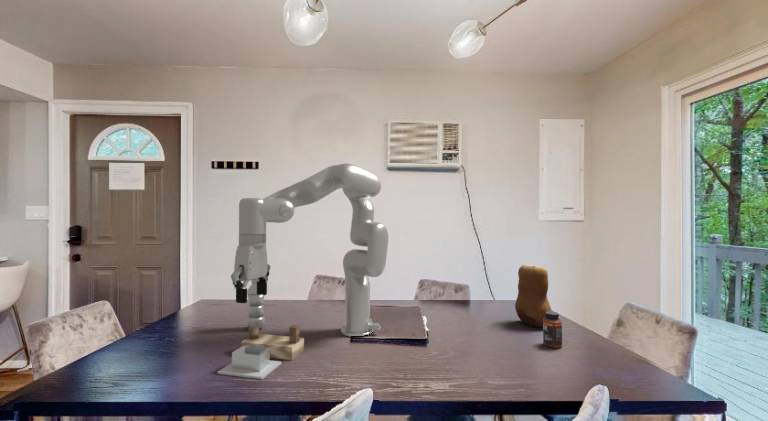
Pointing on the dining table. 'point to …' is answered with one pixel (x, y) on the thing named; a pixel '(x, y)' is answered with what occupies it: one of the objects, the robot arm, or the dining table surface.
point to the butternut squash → (532, 294)
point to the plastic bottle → (255, 307)
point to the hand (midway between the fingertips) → (252, 298)
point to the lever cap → (251, 358)
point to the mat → (247, 373)
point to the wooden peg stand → (278, 342)
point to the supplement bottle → (552, 330)
